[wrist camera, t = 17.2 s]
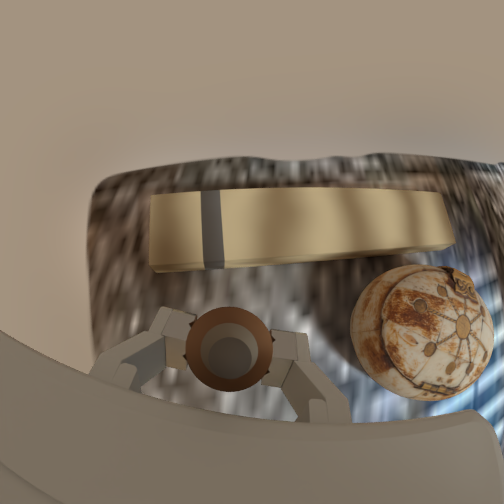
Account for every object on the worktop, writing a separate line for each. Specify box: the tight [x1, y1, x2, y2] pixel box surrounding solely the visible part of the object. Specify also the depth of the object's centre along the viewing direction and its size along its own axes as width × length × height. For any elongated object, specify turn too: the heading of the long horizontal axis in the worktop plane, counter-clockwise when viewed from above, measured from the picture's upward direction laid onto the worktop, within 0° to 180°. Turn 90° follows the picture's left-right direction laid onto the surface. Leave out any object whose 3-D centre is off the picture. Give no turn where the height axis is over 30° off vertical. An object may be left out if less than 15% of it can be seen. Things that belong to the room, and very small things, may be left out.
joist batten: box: [149, 187, 456, 273], centre depth 24 cm, size 30×6×2 cm, turn 96°
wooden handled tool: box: [185, 307, 273, 392], centre depth 11 cm, size 3×3×12 cm
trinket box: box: [350, 264, 494, 401], centre depth 20 cm, size 13×15×8 cm
